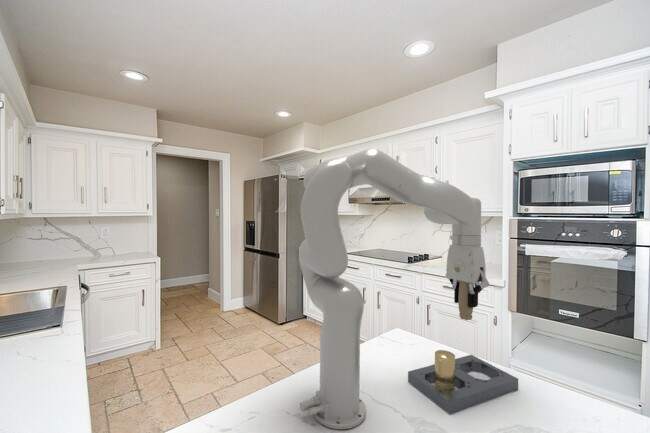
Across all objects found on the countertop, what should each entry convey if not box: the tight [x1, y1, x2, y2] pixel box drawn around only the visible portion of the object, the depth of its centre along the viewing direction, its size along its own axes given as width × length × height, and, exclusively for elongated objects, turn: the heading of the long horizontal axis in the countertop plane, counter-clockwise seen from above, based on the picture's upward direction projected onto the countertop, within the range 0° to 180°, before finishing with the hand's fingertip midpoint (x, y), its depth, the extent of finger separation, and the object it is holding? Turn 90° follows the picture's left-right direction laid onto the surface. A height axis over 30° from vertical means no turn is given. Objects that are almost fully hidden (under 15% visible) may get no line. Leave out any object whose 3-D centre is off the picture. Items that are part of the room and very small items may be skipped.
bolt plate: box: [407, 354, 519, 415], centre depth 84 cm, size 25×15×3 cm, turn 114°
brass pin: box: [434, 349, 456, 392], centre depth 81 cm, size 5×5×10 cm
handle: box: [454, 267, 474, 321], centre depth 87 cm, size 5×6×15 cm
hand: (465, 303), depth 87 cm, fingers closed on handle, 4 cm apart
